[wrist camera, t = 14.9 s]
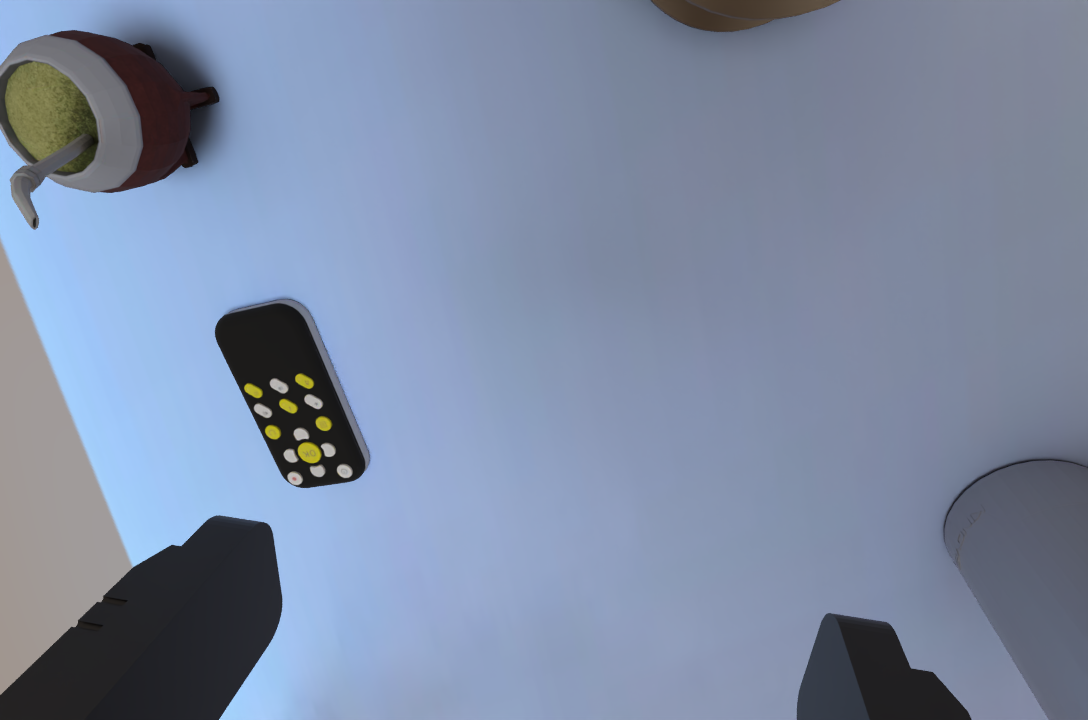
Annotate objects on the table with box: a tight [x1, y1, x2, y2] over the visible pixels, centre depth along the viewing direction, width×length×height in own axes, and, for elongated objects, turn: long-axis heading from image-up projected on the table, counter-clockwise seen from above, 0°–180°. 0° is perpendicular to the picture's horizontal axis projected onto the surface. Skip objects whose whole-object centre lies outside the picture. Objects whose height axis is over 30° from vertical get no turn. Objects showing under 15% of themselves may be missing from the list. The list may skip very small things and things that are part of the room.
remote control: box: [215, 299, 370, 488], centre depth 42 cm, size 6×13×2 cm, turn 15°
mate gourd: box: [0, 30, 219, 230], centre depth 29 cm, size 8×8×15 cm
